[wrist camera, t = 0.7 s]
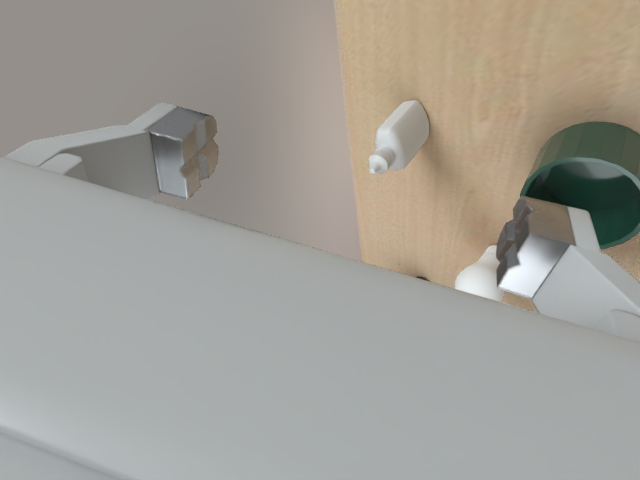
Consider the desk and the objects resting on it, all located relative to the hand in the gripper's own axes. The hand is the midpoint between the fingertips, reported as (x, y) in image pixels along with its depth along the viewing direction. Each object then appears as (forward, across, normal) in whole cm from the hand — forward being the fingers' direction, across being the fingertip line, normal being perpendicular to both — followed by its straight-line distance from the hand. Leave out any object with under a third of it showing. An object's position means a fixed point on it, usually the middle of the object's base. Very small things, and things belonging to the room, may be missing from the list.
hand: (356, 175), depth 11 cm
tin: (+37, -20, +16) cm, 45 cm away
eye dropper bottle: (+43, -1, +18) cm, 46 cm away
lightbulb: (+40, -17, +32) cm, 54 cm away
